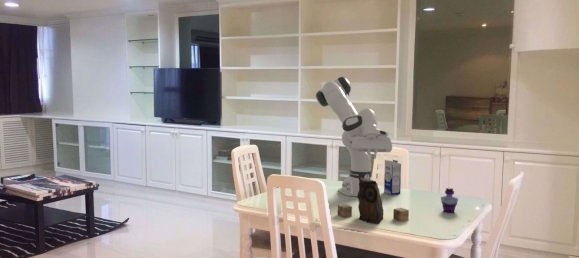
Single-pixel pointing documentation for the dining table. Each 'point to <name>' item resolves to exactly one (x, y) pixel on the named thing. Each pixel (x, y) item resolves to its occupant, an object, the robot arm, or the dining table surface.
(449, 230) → the dining table surface
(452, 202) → the potion bottle
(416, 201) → the dining table surface
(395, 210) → the walnut block two
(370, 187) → the dark brown speaker
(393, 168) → the milk carton
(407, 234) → the dining table surface
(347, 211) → the walnut block one
